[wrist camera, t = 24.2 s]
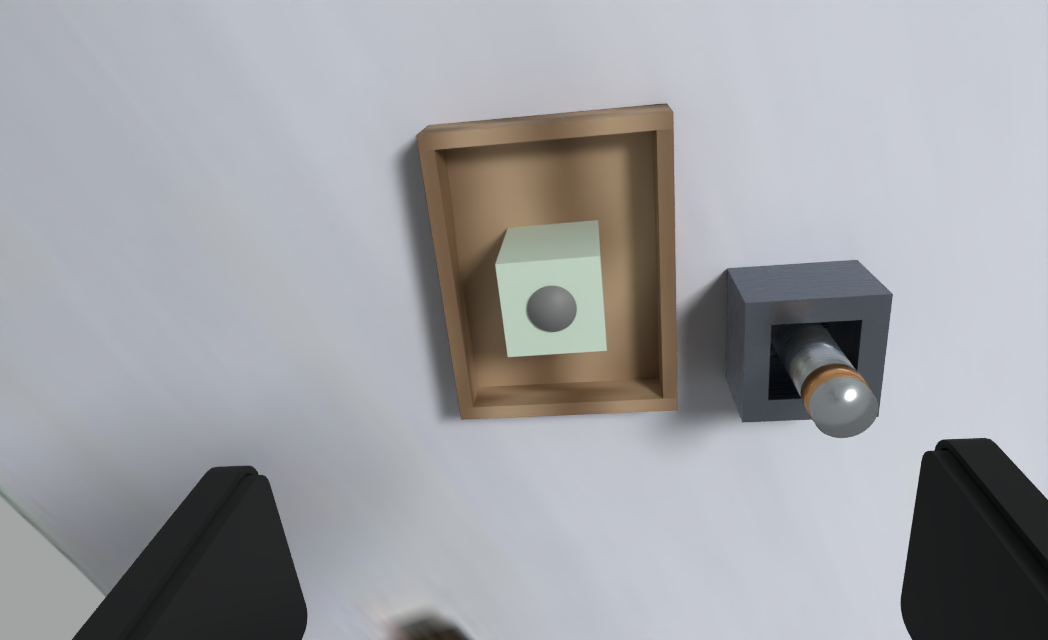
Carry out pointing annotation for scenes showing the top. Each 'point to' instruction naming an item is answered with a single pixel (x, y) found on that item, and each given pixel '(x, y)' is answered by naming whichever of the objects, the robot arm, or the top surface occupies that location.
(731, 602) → the top surface
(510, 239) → the pale green block
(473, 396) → the tray
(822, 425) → the cylinder
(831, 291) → the block
